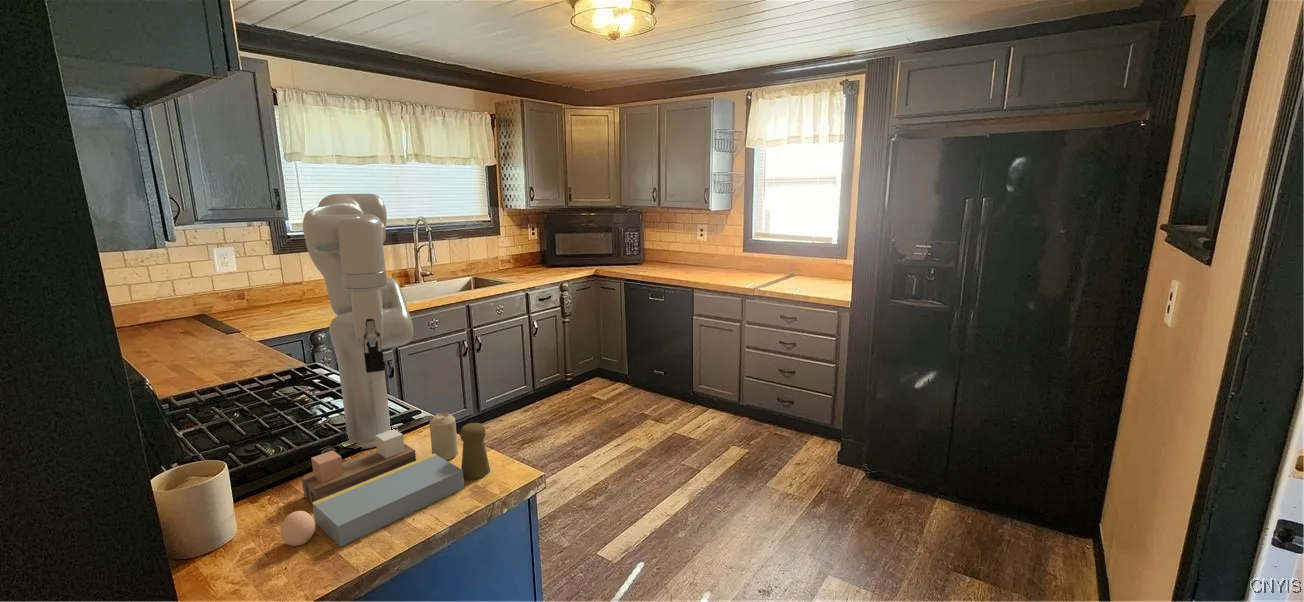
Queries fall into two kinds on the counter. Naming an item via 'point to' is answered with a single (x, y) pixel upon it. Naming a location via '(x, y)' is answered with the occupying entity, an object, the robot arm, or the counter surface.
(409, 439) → the counter surface
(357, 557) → the counter surface
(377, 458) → the brown wooden bar
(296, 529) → the egg
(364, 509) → the block
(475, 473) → the olive pepper mill
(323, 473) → the salmon pink cube
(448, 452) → the candle
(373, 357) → the robot arm
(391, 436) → the white cube
